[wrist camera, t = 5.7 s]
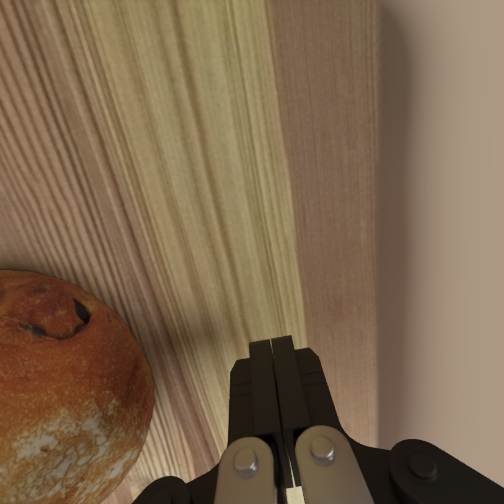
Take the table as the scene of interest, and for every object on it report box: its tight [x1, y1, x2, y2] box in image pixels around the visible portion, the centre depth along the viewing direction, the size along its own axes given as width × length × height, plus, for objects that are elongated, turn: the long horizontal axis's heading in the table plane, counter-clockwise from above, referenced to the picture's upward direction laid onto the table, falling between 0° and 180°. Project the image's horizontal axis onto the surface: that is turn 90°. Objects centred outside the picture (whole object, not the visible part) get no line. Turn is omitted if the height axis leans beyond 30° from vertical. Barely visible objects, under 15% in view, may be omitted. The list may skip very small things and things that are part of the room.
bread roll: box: [0, 270, 154, 504], centre depth 12 cm, size 10×10×8 cm
